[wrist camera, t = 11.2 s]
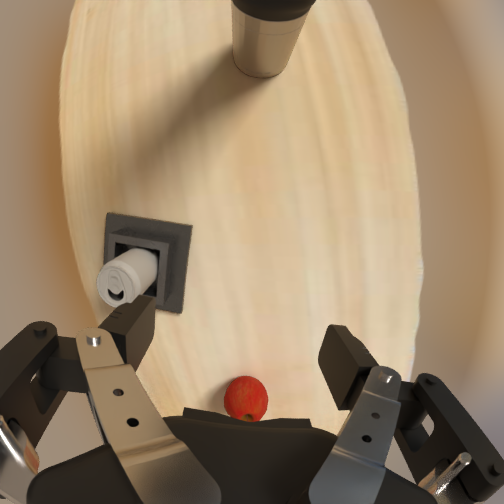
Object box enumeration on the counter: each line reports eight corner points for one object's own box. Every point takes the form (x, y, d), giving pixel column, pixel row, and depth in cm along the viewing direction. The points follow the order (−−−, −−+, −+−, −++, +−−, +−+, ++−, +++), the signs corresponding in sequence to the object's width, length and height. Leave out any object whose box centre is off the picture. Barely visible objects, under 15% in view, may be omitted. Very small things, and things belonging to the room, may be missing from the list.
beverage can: (128, 280, 43) (96, 308, 31) (126, 243, 42) (91, 261, 30) (163, 283, 43) (139, 314, 32) (162, 245, 42) (135, 265, 30)
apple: (225, 398, 51) (223, 435, 40) (224, 368, 49) (221, 406, 38) (264, 398, 51) (269, 435, 40) (267, 368, 49) (273, 406, 39)
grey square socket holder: (109, 212, 41) (97, 215, 37) (192, 225, 43) (187, 229, 38) (105, 294, 44) (95, 303, 40) (182, 310, 46) (177, 322, 41)
